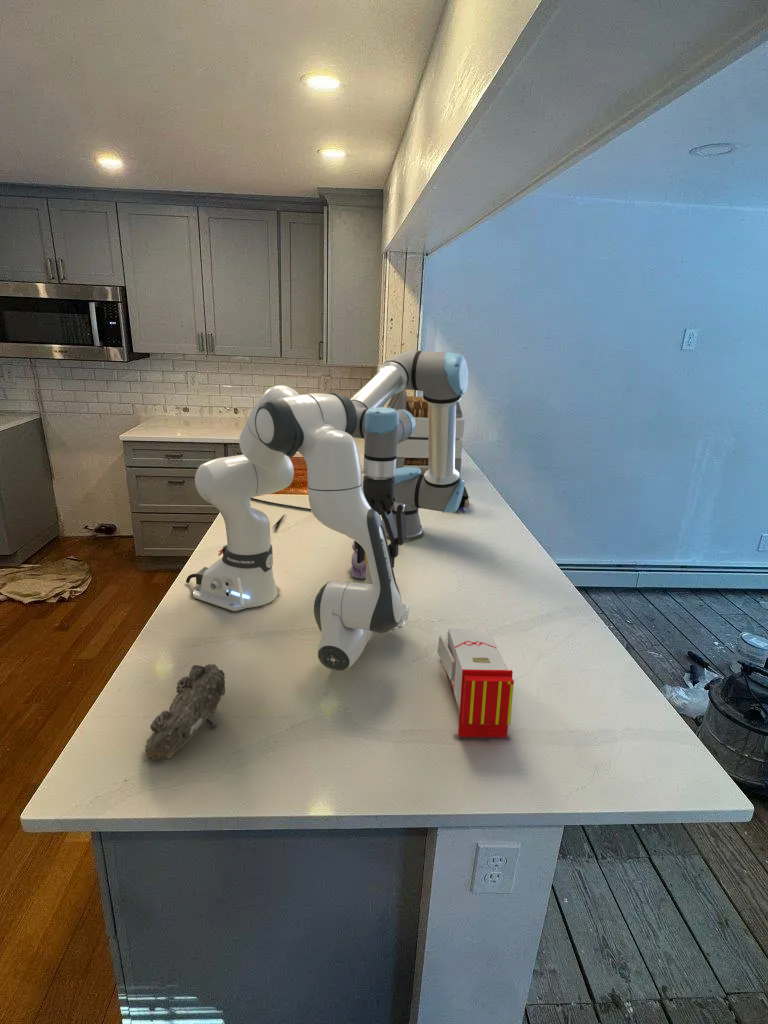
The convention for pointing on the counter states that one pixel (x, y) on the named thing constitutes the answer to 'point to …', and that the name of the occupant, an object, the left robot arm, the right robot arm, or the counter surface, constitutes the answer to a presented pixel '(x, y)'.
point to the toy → (478, 682)
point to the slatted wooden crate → (422, 432)
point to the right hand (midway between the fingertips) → (375, 564)
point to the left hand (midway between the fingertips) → (375, 595)
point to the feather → (278, 523)
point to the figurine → (357, 565)
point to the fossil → (186, 710)
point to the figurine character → (464, 501)
